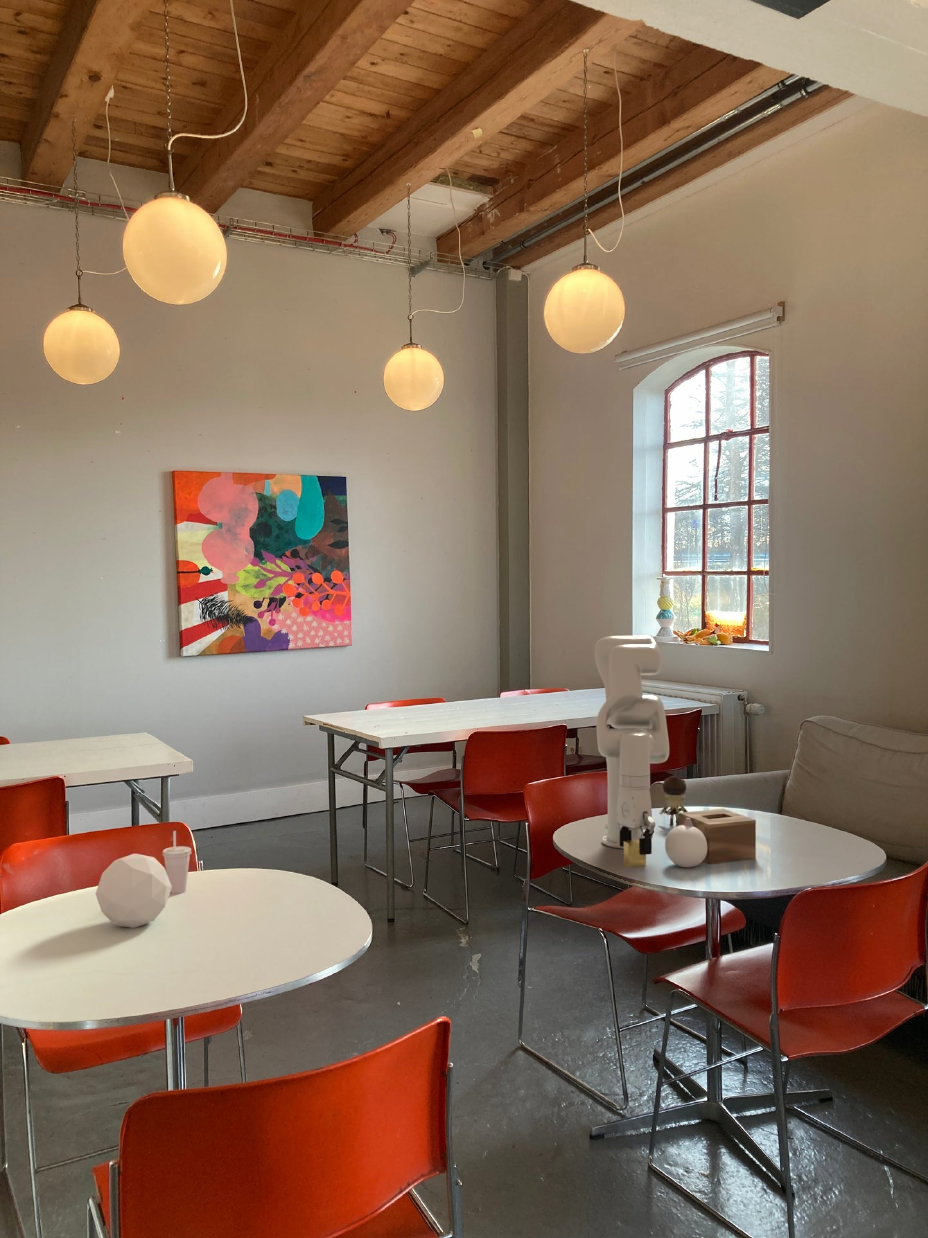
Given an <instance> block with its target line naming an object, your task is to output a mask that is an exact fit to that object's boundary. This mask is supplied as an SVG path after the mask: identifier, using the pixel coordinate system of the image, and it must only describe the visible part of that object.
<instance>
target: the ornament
mask: <svg viewBox="0 0 928 1238" xmlns="http://www.w3.org/2000/svg"><path fill="white" fill-rule="evenodd" d="M687 823H689V824H687ZM664 849H665V853H666V855H667V858H668V859H669V860H670V862H672V863H673V864H675V865H676V866H678V867H682V868H693V867H696V866H699V865H700V864H701V863H703V862H704V861H703V860H704V858H705V856H706V854H707V841H706V838H705V836H704V835H703V833H702V832H701V831H700V830H699V829H697V828H696V827H693V825H692V822H691V819H690V818H686V821H685V823H684V825H680V826H677V825H676V826H675V827H673V828H672V829H670V830H669V832H668V833H667V834H666V837H665V843H664Z"/></svg>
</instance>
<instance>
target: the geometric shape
mask: <svg viewBox="0 0 928 1238" xmlns="http://www.w3.org/2000/svg"><path fill="white" fill-rule="evenodd" d="M171 888H172V886H171V883H170V881H169V878H168V876H167V873H166V867H164V866H163V865H162V864H161V863H160V861H158V860H157V858H156V857H155V856H148V855H144V854H140V853H131V854H129V855H127V856H123V857H120V858H118V859H115V860H113V862H111V864H110V865H109V866H108V867H107V868H106V869H105V870H104V871H103V872H102V873H101V876H100V880H99V882H98V885H97V888H96V891H95V896H96V899H97V902H98V905H99V908H100V910H101V913H102V914H103V915H104V916H105V917H106V918H107V919H108V920H109V921H110V922H111V923H112V925H114V926H118V927H126V928H131V929H135V928H138V927H140V926H144V925H146V924H148V923H151V922H153V921H155V920H156V919H157V918H158V916H159V915H160V914H161V913H162V912H163V911H164V909H165V908H166V905H167V902H168V900H169V896H170V894H171V893H170V891H171Z"/></svg>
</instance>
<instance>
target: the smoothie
mask: <svg viewBox="0 0 928 1238" xmlns="http://www.w3.org/2000/svg"><path fill="white" fill-rule="evenodd" d="M172 833H173V834H172V835H173V837H172V840H173V842H172V843H173V846H170V847H167V848H165V849H163V850H162V856H163V857H164V866H165V871H166V873H167V876H168V878H169V881H170V883H171V886H172V888H171V891H170V894H172V895H178V894H183V893H185V892H187V883H188V874H189V865H190V857H191V856H190V855H191V854H192V848H191V847H189V846H183V845H181V846H180V845H179V846H177V831H176V830H173V832H172Z"/></svg>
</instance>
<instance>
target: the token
mask: <svg viewBox="0 0 928 1238" xmlns="http://www.w3.org/2000/svg"><path fill="white" fill-rule="evenodd" d="M646 865H647V854H646V855H640V854H639V840H630V841H624V848H623V866H625V867H627V868H634V867H641V866H646Z"/></svg>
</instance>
